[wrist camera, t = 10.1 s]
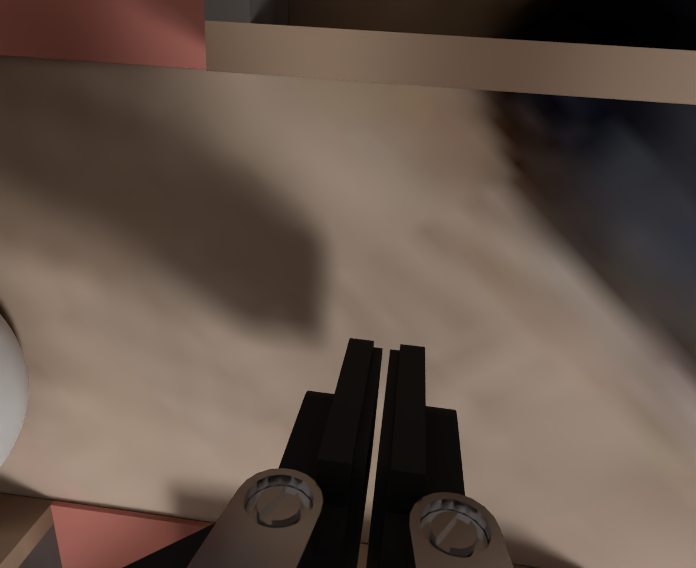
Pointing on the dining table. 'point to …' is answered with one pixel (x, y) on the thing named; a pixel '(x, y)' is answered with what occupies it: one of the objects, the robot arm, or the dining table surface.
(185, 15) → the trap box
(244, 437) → the dining table surface
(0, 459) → the teacup
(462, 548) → the robot arm
